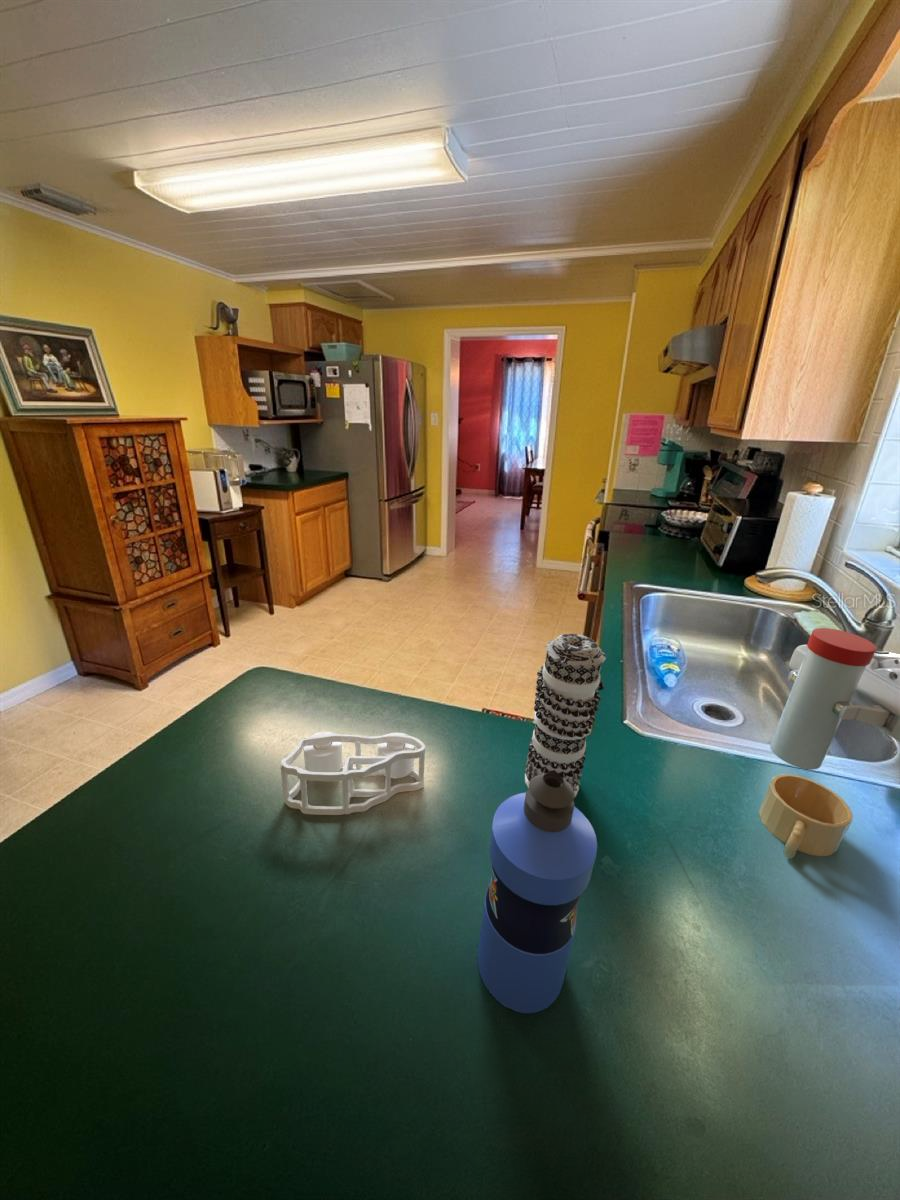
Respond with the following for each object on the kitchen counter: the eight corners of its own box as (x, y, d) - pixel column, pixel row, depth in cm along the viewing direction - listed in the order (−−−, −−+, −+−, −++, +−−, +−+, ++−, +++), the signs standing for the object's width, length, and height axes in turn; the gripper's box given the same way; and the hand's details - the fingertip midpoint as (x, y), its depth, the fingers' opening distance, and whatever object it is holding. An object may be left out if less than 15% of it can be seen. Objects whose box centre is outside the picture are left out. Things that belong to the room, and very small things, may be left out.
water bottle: (467, 996, 47) (489, 807, 37) (485, 907, 55) (507, 734, 45) (562, 1029, 45) (612, 838, 35) (567, 932, 53) (608, 756, 43)
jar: (800, 739, 68) (847, 628, 62) (835, 771, 63) (891, 652, 56) (758, 738, 68) (800, 627, 61) (788, 770, 62) (839, 650, 55)
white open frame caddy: (424, 761, 77) (425, 724, 74) (423, 815, 67) (425, 775, 64) (299, 759, 76) (296, 722, 73) (279, 815, 65) (275, 774, 63)
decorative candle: (540, 753, 80) (562, 620, 70) (591, 782, 75) (622, 642, 65) (510, 781, 74) (529, 640, 64) (563, 815, 68) (593, 665, 58)
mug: (766, 794, 74) (778, 764, 72) (840, 831, 68) (856, 799, 66) (745, 841, 66) (758, 809, 63) (827, 887, 60) (845, 854, 57)
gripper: (984, 765, 55) (879, 769, 53) (834, 672, 73) (753, 673, 72) (1012, 721, 52) (902, 723, 51) (850, 636, 71) (766, 636, 69)
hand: (814, 693), depth 61 cm, fingers closed on jar, 6 cm apart
